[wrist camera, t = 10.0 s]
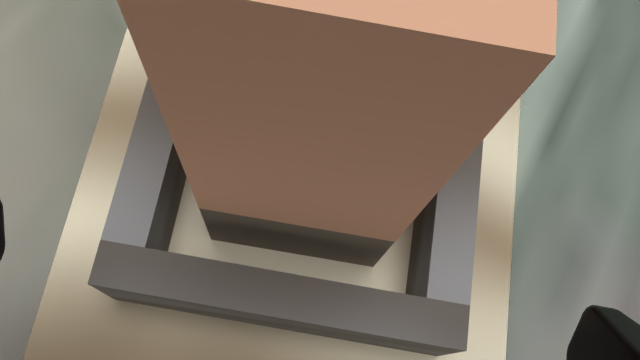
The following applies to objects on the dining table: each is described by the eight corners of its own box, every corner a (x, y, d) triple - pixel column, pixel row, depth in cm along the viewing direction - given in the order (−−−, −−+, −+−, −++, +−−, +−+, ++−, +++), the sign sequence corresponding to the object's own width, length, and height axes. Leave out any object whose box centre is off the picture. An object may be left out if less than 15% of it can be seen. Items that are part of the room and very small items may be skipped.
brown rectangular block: (372, 266, 16) (556, 55, 6) (211, 239, 16) (107, -25, 6) (391, 119, 18) (564, -256, 7) (243, 93, 18) (206, -326, 7)
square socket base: (486, 439, 16) (543, 453, 13) (37, 361, 16) (-25, 354, 12) (512, 50, 20) (560, -16, 17) (153, -17, 20) (130, -98, 16)
